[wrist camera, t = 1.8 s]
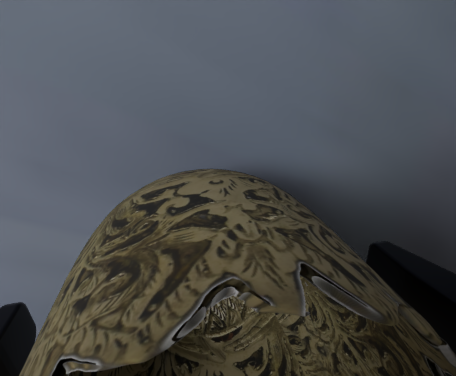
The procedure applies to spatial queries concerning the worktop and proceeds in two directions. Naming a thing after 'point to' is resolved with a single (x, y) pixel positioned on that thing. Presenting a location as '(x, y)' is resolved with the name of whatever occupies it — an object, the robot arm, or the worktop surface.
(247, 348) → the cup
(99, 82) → the worktop surface
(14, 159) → the worktop surface
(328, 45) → the worktop surface
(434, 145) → the worktop surface
